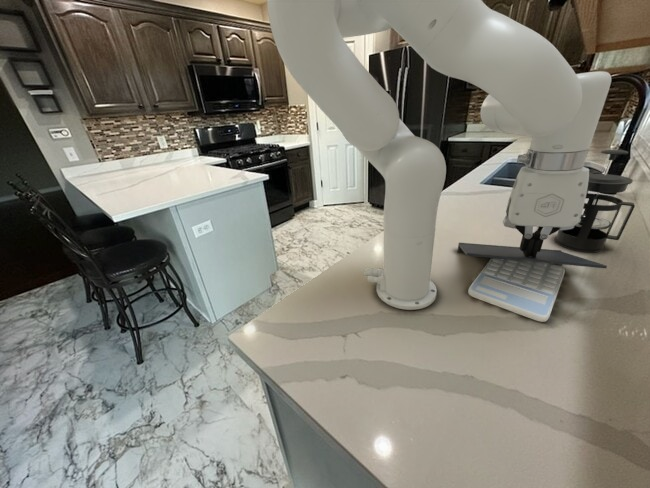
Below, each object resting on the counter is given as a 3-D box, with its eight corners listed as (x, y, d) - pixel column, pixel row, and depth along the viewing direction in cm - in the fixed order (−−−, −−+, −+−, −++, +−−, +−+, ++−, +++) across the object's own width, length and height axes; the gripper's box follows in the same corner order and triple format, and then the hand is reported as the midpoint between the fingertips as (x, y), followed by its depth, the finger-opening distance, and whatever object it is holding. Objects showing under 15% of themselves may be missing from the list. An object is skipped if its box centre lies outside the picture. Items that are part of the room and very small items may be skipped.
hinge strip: (457, 252, 69) (458, 244, 68) (457, 250, 70) (458, 242, 69) (559, 261, 61) (562, 252, 60) (557, 259, 62) (561, 250, 61)
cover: (466, 255, 53) (466, 252, 53) (458, 245, 68) (459, 243, 68) (606, 268, 45) (607, 265, 45) (562, 254, 60) (563, 251, 60)
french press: (548, 245, 67) (580, 153, 57) (553, 232, 73) (582, 146, 63) (613, 258, 60) (664, 155, 49) (612, 242, 66) (657, 147, 55)
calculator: (564, 273, 57) (567, 266, 56) (546, 325, 45) (549, 317, 44) (495, 255, 66) (497, 249, 65) (465, 295, 54) (466, 288, 53)
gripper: (506, 167, 43) (487, 260, 52) (627, 163, 38) (584, 268, 46) (498, 157, 50) (483, 242, 58) (602, 153, 44) (568, 247, 52)
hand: (528, 253), depth 52 cm, fingers closed
